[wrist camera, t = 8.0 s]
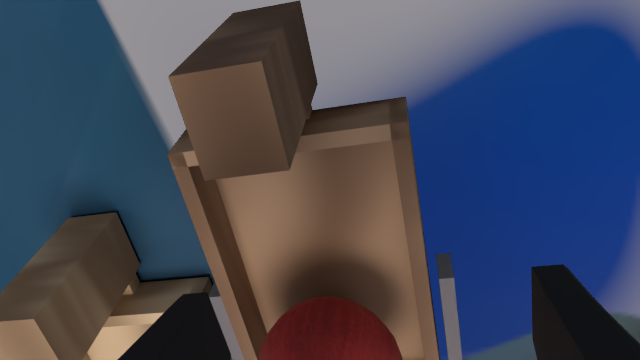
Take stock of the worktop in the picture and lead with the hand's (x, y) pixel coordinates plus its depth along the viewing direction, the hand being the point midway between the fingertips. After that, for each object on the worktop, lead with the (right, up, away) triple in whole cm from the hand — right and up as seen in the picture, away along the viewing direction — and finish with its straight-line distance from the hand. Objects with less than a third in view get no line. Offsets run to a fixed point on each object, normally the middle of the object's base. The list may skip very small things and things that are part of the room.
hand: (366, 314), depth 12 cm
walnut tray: (-1, +1, +11) cm, 11 cm away
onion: (0, -3, +13) cm, 13 cm away
